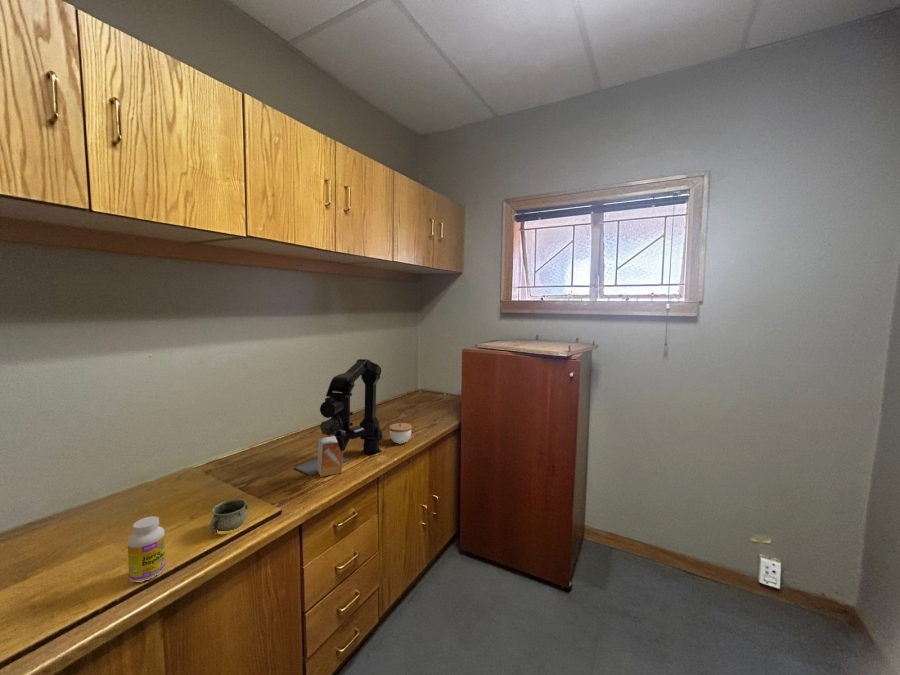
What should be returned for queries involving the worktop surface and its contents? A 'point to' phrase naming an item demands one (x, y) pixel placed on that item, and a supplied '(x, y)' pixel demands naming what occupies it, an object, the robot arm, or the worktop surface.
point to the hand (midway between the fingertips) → (342, 450)
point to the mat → (312, 467)
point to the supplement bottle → (146, 549)
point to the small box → (329, 456)
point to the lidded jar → (400, 432)
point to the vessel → (228, 515)
